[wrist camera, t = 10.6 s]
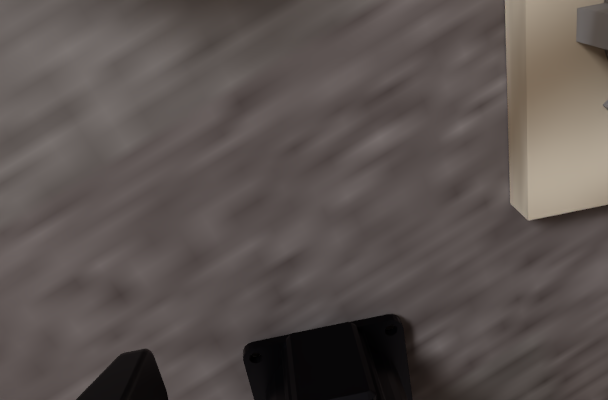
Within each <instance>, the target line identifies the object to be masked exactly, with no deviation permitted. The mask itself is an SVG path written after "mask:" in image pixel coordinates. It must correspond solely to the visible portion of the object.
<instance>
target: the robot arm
mask: <svg viewBox="0 0 608 400" xmlns="http://www.w3.org/2000/svg"><path fill="white" fill-rule="evenodd" d="M390 325H394V327H393V328H392V329H390V330H386V327H387V326H390ZM253 353H259V354H261V355H260V356H257V357H253V356H251V354H253ZM243 361H244V364H245V368H246V372H247V375H248V379H249V382H250V386H251V389H252V393H253V397H254V400H412V393H411V385H410V377H409V369H408V362H407V354H406V346H405V338H404V330H403V326H402V324H401V321H400V319H399V318H398V317H397V316H396V315H393V314H387V315H382V316H377V317H372V318H367V319H362V320H358V321H353V322H346V323H341V324H336V325H331V326H326V327H322V328H317V329H312V330H307V331H302V332H297V333H292V334H289V335H284V336H279V337H274V338H270V339H265V340H260V341H255V342H251V343H249V344H247V345H246V346H245V348H244V350H243ZM76 400H168V395H167V391H166V388H165V385H164V383H163V380H162V377H161V374H160V372H159V369H158V366H157V363H156V361H155V358H154V355H153V354H152V352H151V351H150V350H148V349H141V350H136V351H131V352H126V353H123V354H121V355H119V356H118V357H117V358H116V359H115V360H114V361H113V362H112V363H111V364H110V365H109V366H108V367H107V368H106V369H105V370H104V372H103V373H102V374H101V375H100V376H99V377H98V378H97V379H96V380H95V381H94V382H93V383H92V384H91V385H90V386H89V387H88V388H87V389H86V390H85V391H84V392H83V393H82V394H81V395H80V396H79V397H78V398H77V399H76Z"/></svg>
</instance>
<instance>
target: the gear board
mask: <svg viewBox="0 0 608 400" xmlns="http://www.w3.org/2000/svg"><path fill="white" fill-rule="evenodd" d="M505 25H506V62H507V100H508V137H509V174H510V204H511V205H512V206H513V207H515V208H516V209H517V210H518V211H519V212H520V213H521V214H522V215H523V216H524V217H525V218H526V219H527V220H528V221H529V220H534V219H539V218H544V217H549V216H554V215H559V214H564V213H569V212H573V211H578V210H583V209H588V208H593V207H598V206H603V205H608V0H505Z"/></svg>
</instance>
